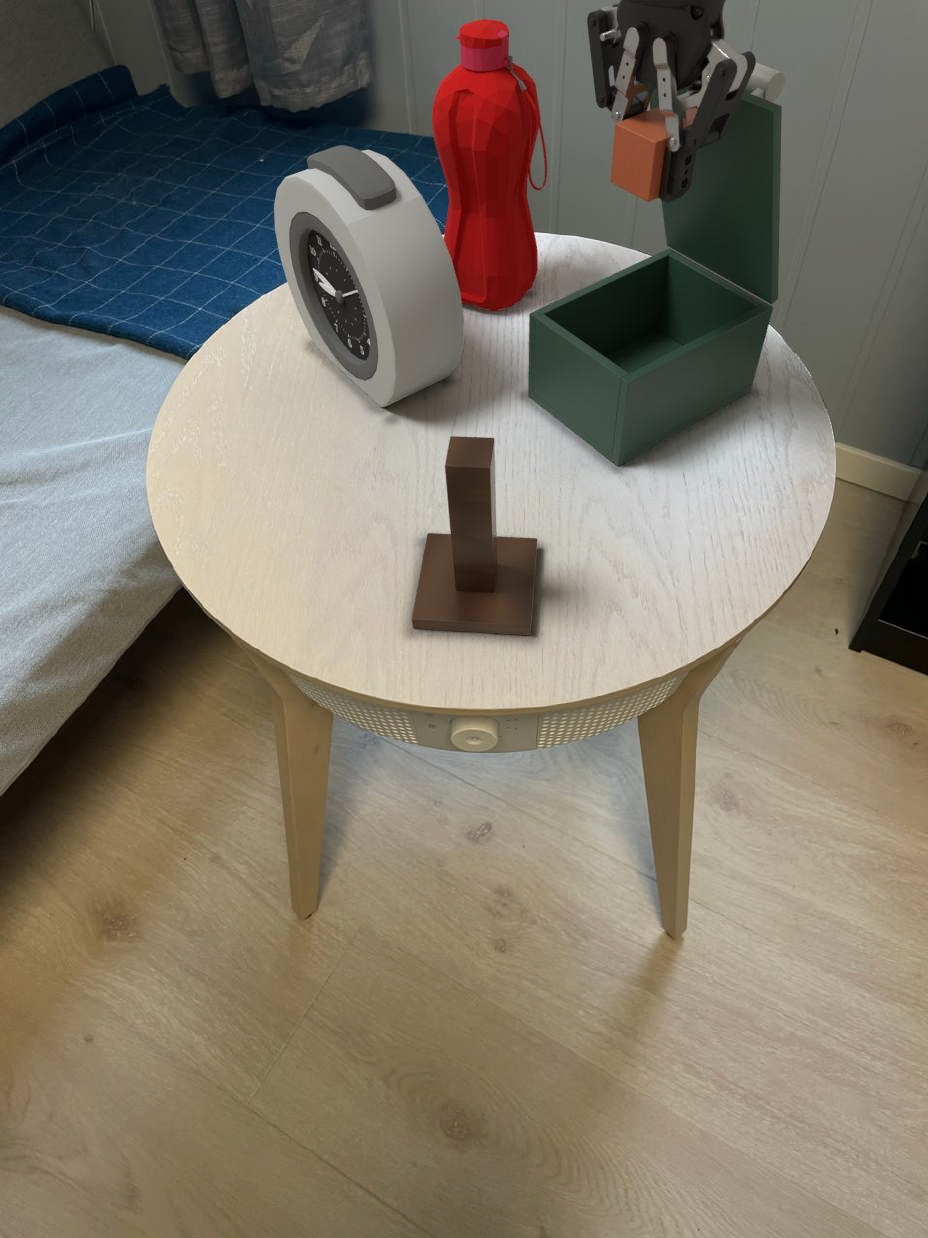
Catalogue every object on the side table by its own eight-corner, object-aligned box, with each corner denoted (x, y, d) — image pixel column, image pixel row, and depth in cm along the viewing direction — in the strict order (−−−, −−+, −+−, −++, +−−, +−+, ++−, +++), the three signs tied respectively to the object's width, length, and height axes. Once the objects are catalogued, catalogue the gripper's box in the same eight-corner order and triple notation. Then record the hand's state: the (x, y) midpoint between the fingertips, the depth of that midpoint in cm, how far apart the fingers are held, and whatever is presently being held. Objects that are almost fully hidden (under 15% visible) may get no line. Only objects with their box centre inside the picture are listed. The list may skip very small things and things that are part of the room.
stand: (537, 547, 70) (541, 410, 59) (530, 635, 64) (533, 502, 53) (428, 542, 71) (412, 405, 60) (412, 628, 65) (392, 496, 54)
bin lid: (773, 112, 58) (830, 65, 58) (643, 59, 65) (695, 16, 65) (771, 304, 73) (816, 266, 74) (666, 245, 80) (708, 210, 80)
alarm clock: (295, 327, 91) (249, 129, 75) (355, 301, 93) (323, 104, 77) (404, 429, 80) (377, 221, 64) (469, 397, 82) (458, 189, 66)
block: (689, 184, 64) (699, 124, 61) (648, 202, 62) (655, 142, 59) (650, 164, 66) (657, 106, 63) (609, 182, 65) (614, 122, 61)
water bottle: (522, 326, 89) (525, 54, 69) (432, 300, 93) (410, 35, 73) (561, 282, 94) (573, 15, 74) (474, 259, 97) (464, 0, 77)
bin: (617, 466, 75) (628, 383, 68) (527, 395, 82) (529, 312, 75) (751, 391, 81) (773, 306, 74) (656, 330, 87) (669, 247, 80)
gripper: (822, -95, 48) (754, 205, 62) (648, -137, 56) (621, 139, 69) (729, -66, 46) (680, 240, 60) (559, -113, 53) (550, 168, 67)
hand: (648, 184), depth 64 cm, fingers closed on block, 4 cm apart
